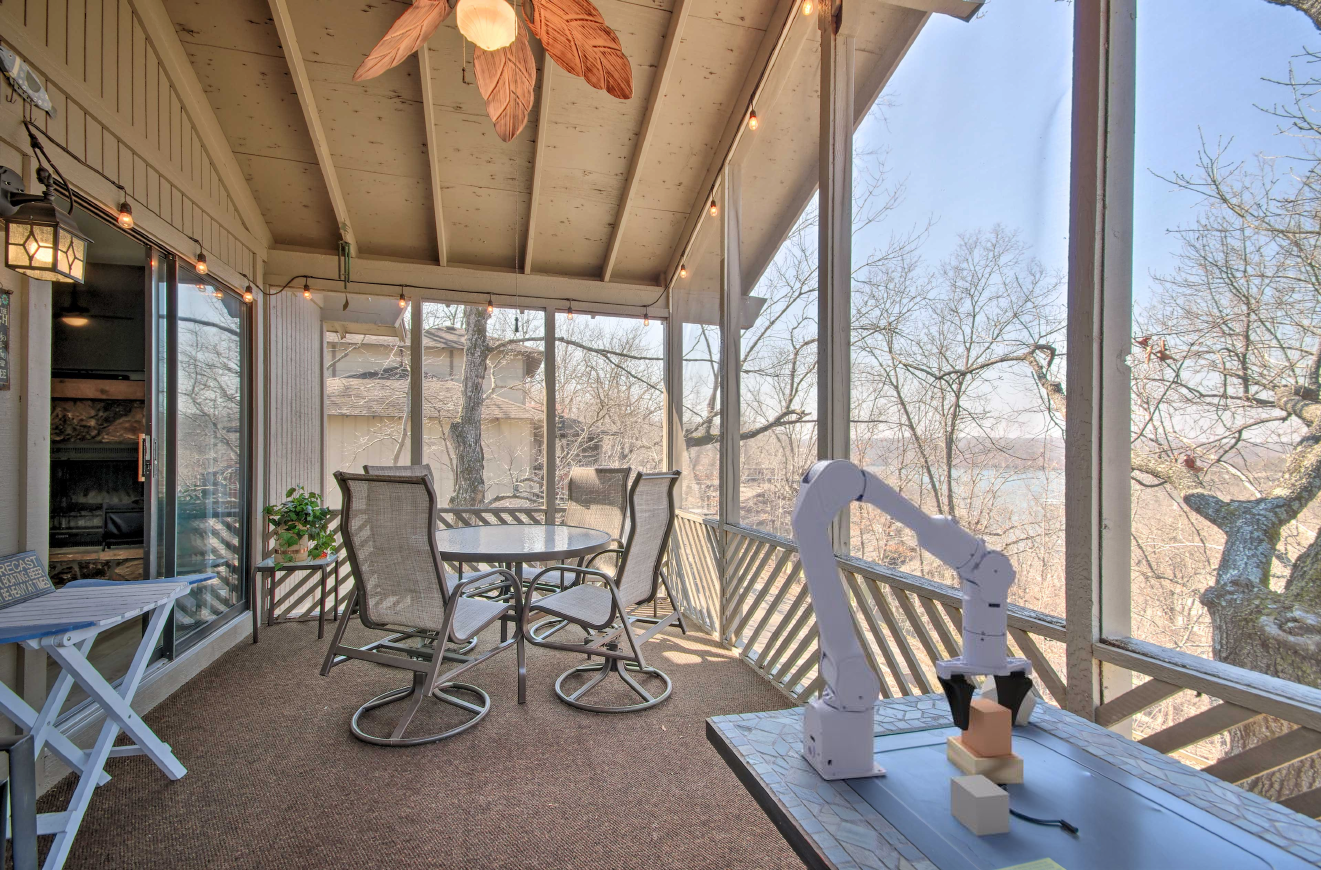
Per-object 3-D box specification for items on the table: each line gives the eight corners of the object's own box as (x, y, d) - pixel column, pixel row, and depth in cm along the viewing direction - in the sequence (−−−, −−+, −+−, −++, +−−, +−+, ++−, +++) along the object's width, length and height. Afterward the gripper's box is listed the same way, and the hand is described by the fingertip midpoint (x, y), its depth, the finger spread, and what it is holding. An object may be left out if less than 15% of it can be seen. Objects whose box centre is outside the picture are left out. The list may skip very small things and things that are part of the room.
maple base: (975, 785, 82) (975, 759, 82) (946, 760, 89) (946, 736, 89) (1023, 785, 82) (1023, 759, 82) (991, 760, 89) (991, 735, 89)
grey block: (976, 836, 70) (976, 797, 70) (950, 814, 74) (950, 777, 75) (1009, 832, 71) (1009, 794, 71) (981, 810, 75) (981, 774, 76)
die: (1034, 720, 105) (999, 666, 110) (1058, 713, 98) (1020, 656, 103) (994, 738, 104) (961, 683, 109) (1015, 733, 97) (978, 674, 102)
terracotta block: (984, 756, 83) (984, 712, 83) (961, 741, 87) (961, 700, 87) (1011, 754, 84) (1011, 710, 84) (987, 739, 88) (987, 698, 88)
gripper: (959, 640, 81) (959, 742, 80) (1049, 636, 84) (1049, 735, 83) (926, 626, 88) (925, 719, 87) (1010, 623, 91) (1010, 714, 90)
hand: (983, 726), depth 86 cm, fingers open, 7 cm apart
